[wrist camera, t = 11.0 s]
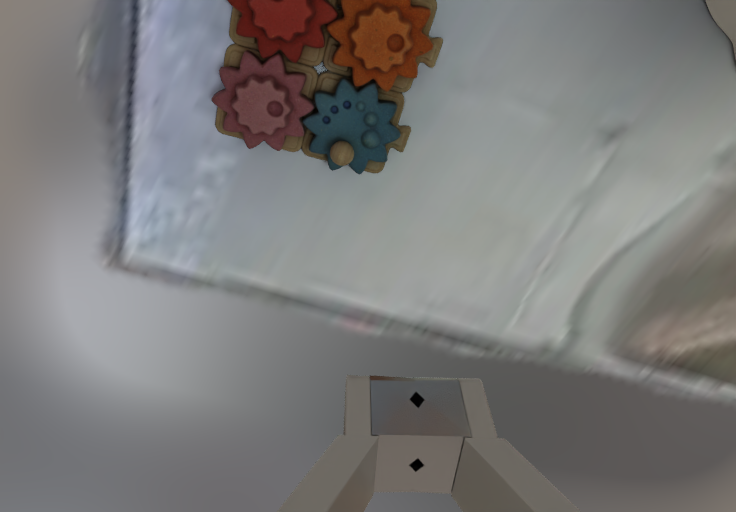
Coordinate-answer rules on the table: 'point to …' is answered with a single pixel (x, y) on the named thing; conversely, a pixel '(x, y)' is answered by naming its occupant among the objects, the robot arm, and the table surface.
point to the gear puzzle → (324, 76)
